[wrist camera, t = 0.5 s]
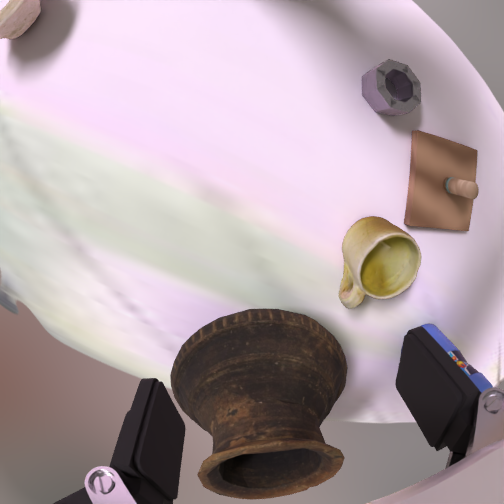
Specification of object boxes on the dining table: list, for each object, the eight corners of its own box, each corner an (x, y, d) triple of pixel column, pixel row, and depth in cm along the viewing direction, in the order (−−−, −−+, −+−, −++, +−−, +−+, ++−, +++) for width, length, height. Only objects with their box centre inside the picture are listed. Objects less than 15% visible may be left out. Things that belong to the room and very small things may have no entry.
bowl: (56, -25, 19) (31, -45, 10) (68, 11, 23) (37, -11, 14) (-1, 27, 21) (-31, 16, 11) (6, 69, 25) (-31, 61, 15)
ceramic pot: (232, 415, 48) (234, 516, 27) (150, 329, 41) (104, 447, 20) (349, 364, 46) (397, 464, 24) (292, 254, 38) (351, 363, 17)
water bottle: (439, 346, 47) (504, 424, 23) (403, 369, 48) (461, 459, 24) (436, 314, 44) (517, 397, 20) (397, 339, 45) (469, 438, 21)
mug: (381, 188, 34) (420, 233, 26) (400, 236, 40) (431, 282, 32) (306, 235, 38) (326, 289, 30) (336, 275, 44) (355, 326, 36)
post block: (411, 130, 33) (443, 128, 26) (471, 149, 34) (502, 152, 27) (403, 223, 38) (432, 237, 31) (463, 228, 39) (491, 241, 32)
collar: (361, 63, 30) (375, 55, 26) (403, 75, 31) (419, 69, 26) (362, 109, 32) (376, 104, 28) (404, 118, 33) (421, 116, 29)
